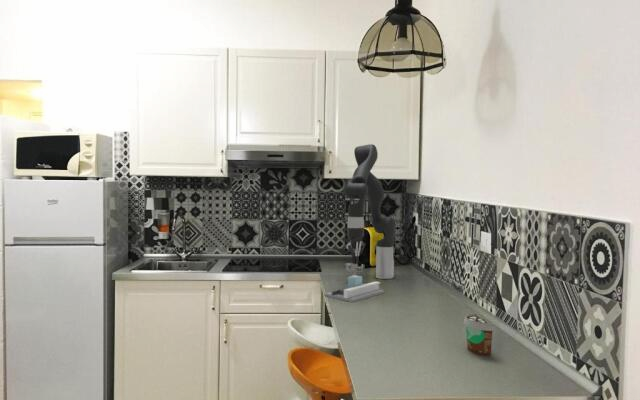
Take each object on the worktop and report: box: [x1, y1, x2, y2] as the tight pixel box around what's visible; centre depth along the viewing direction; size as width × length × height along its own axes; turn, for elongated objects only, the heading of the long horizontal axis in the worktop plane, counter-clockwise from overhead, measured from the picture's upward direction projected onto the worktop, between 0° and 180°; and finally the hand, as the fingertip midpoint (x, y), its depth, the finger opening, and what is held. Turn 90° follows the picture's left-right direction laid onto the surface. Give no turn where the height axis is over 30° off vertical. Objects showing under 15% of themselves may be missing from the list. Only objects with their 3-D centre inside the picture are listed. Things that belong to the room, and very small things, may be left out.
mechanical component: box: [344, 262, 365, 276], centre depth 239 cm, size 3×10×10 cm, turn 78°
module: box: [347, 275, 363, 288], centre depth 215 cm, size 5×4×7 cm
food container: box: [463, 312, 494, 357], centre depth 144 cm, size 12×6×10 cm, turn 5°
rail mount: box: [324, 281, 385, 303], centre depth 215 cm, size 24×16×5 cm, turn 138°
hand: (355, 264), depth 215 cm, fingers closed
